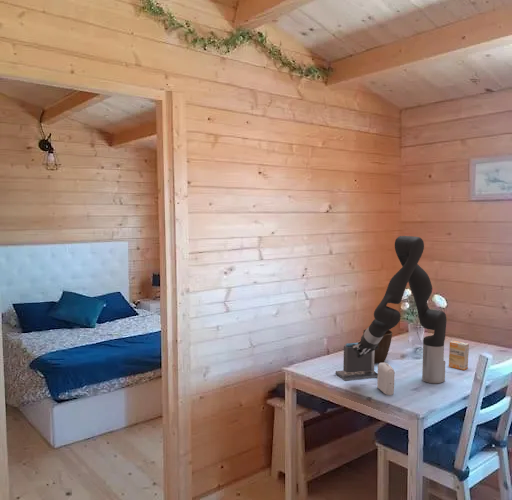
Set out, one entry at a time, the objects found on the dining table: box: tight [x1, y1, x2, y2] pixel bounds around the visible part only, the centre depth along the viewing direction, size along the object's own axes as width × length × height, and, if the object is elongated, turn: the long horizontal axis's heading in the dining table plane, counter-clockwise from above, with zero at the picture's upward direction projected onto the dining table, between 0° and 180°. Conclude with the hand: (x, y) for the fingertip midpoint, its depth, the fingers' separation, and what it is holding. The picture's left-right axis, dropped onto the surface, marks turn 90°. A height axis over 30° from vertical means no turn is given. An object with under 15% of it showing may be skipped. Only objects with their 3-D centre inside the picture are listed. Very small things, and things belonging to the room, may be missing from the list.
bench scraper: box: [342, 342, 375, 373], centre depth 246 cm, size 15×4×14 cm, turn 106°
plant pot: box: [362, 328, 393, 364], centre depth 269 cm, size 15×15×16 cm
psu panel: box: [335, 370, 378, 382], centre depth 246 cm, size 18×11×2 cm, turn 106°
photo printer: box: [376, 362, 395, 396], centre depth 225 cm, size 10×4×12 cm, turn 11°
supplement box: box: [448, 340, 470, 371], centre depth 258 cm, size 8×5×13 cm, turn 45°
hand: (358, 356), depth 236 cm, fingers closed
